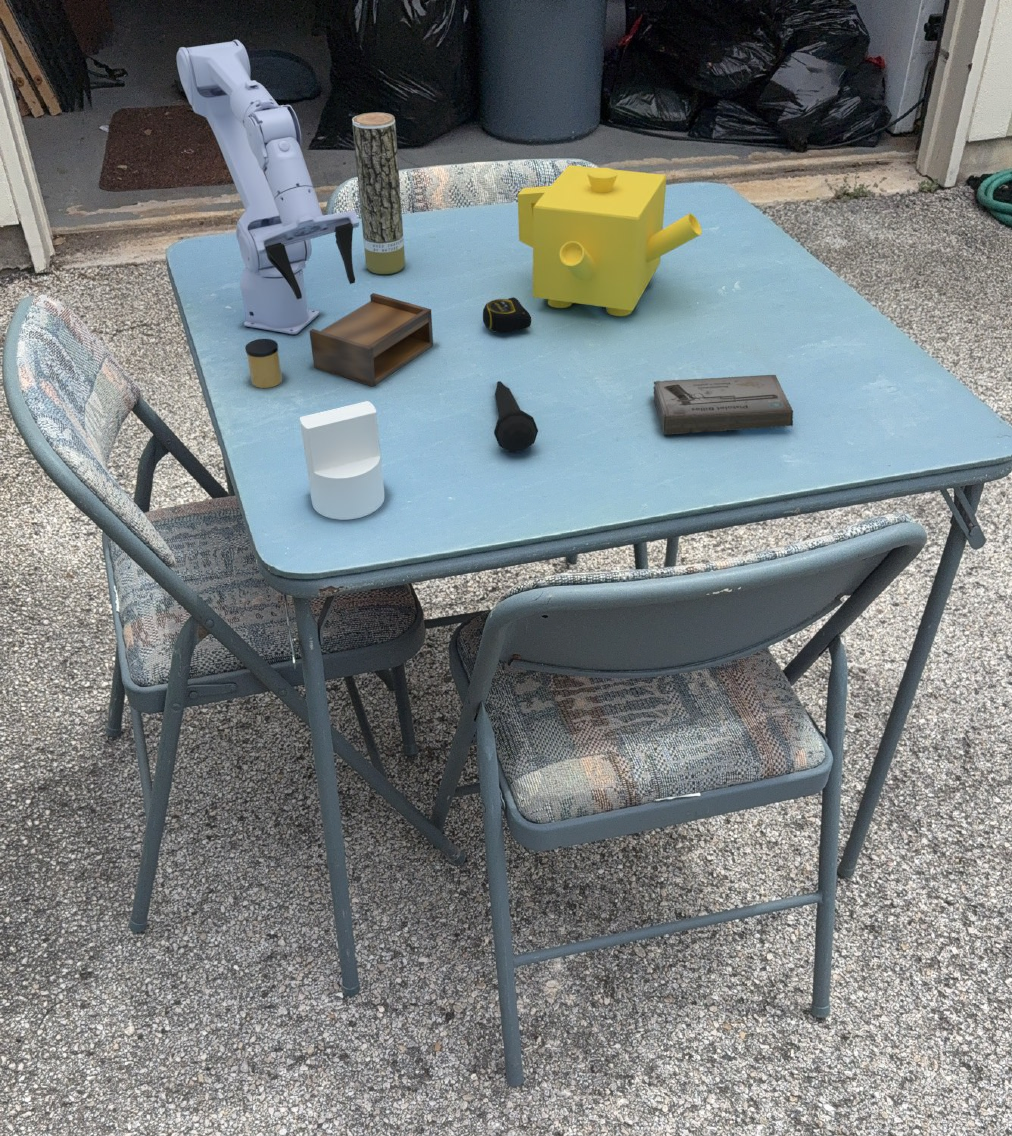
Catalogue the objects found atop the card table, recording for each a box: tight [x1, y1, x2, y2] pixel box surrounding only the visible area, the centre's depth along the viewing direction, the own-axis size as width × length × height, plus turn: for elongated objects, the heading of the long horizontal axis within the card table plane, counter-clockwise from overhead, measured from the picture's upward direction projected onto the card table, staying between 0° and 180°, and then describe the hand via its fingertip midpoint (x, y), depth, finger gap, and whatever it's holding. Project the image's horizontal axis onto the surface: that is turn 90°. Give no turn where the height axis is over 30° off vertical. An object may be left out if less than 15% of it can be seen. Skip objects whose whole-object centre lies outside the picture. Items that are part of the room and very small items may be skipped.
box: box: [652, 374, 794, 436], centre depth 154 cm, size 11×17×3 cm, turn 92°
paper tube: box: [351, 112, 406, 275], centre depth 188 cm, size 7×7×25 cm
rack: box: [308, 292, 434, 388], centre depth 169 cm, size 11×15×6 cm
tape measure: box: [482, 296, 532, 334], centre depth 176 cm, size 7×7×4 cm
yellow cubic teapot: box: [517, 164, 703, 317], centre depth 180 cm, size 35×29×20 cm
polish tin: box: [244, 338, 283, 389], centre depth 163 cm, size 5×5×6 cm
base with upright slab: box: [299, 400, 385, 521], centre depth 137 cm, size 9×9×12 cm
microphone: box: [493, 380, 539, 453], centre depth 154 cm, size 6×6×20 cm
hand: (326, 289), depth 157 cm, fingers open, 7 cm apart
